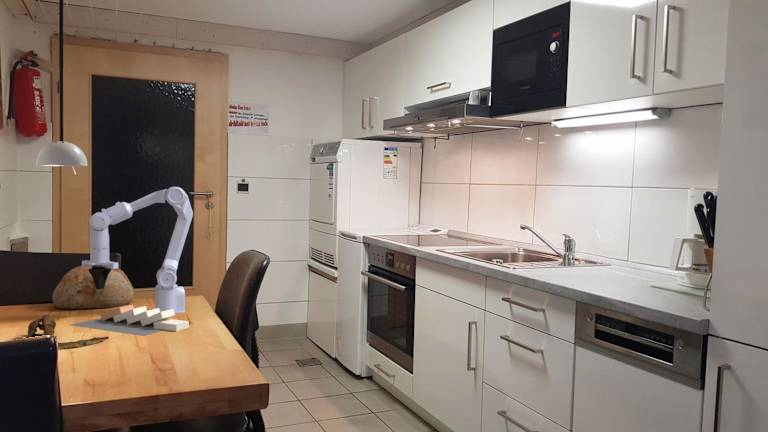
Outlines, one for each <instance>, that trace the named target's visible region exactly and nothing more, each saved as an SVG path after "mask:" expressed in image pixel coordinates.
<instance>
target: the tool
mask: <svg viewBox="0 0 768 432" xmlns="http://www.w3.org/2000/svg"><path fill="white" fill-rule="evenodd" d="M56 326H57V322H56V321H55V318H54V317H52V316H51V315H49V314H43V315H42V317H41V318H37V319H35V320H33V321H31V322H30V323H29V324H28V327H27V335H26V336H25V338H29V337H35V336H41V335H53V336H54V333H55V329H56ZM38 329H39V330H40V331H43V333H42V334H40V333H37V332H38ZM108 339H110V338H109V336H102V337H95V336H94V337H92V338H88V339H81V340H80V339H79V340H77V341H68V342H57V343H58V350H57V351H62V349H64V350H70V349H71V350H72V349H79V348H83V347H87V346H92V345H97V344H99V343H103V342H104V341H107V340H108ZM59 349H60V350H59Z"/></svg>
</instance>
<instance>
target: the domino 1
mask: <svg viewBox="0 0 768 432" xmlns="http://www.w3.org/2000/svg"><path fill="white" fill-rule="evenodd" d="M131 309H135V307H134V304H127V305H123V306H118V307H116V308H114V309H111V310H109V311H107V312H105V313H102V314H100V318H102V321H104V320H109V319H113V317H114V316H116V315H119V314H121V313H124V312H126V311H129V310H131Z"/></svg>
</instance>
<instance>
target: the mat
mask: <svg viewBox="0 0 768 432" xmlns="http://www.w3.org/2000/svg"><path fill="white" fill-rule="evenodd" d="M70 326H74V327H81V328H87V329H95V330H99V331H109V332H115V333H121V334H127V335H135V336H140V337H145V336H149V335H152V334H153V335H154V334H157V333H160V332H163V331H165V330H163V329H156V328H154V324H150V325H146V326H142V324H141V321H140V322H136V323H132V324H127V320H124V321H120V322H116V323H115V321H114V318H113V319H109V320H104V321H102V318H101V317H98V318H94V319H89V320H85V321H80V322H77V323H76V322H75V323H71V324H70Z"/></svg>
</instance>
